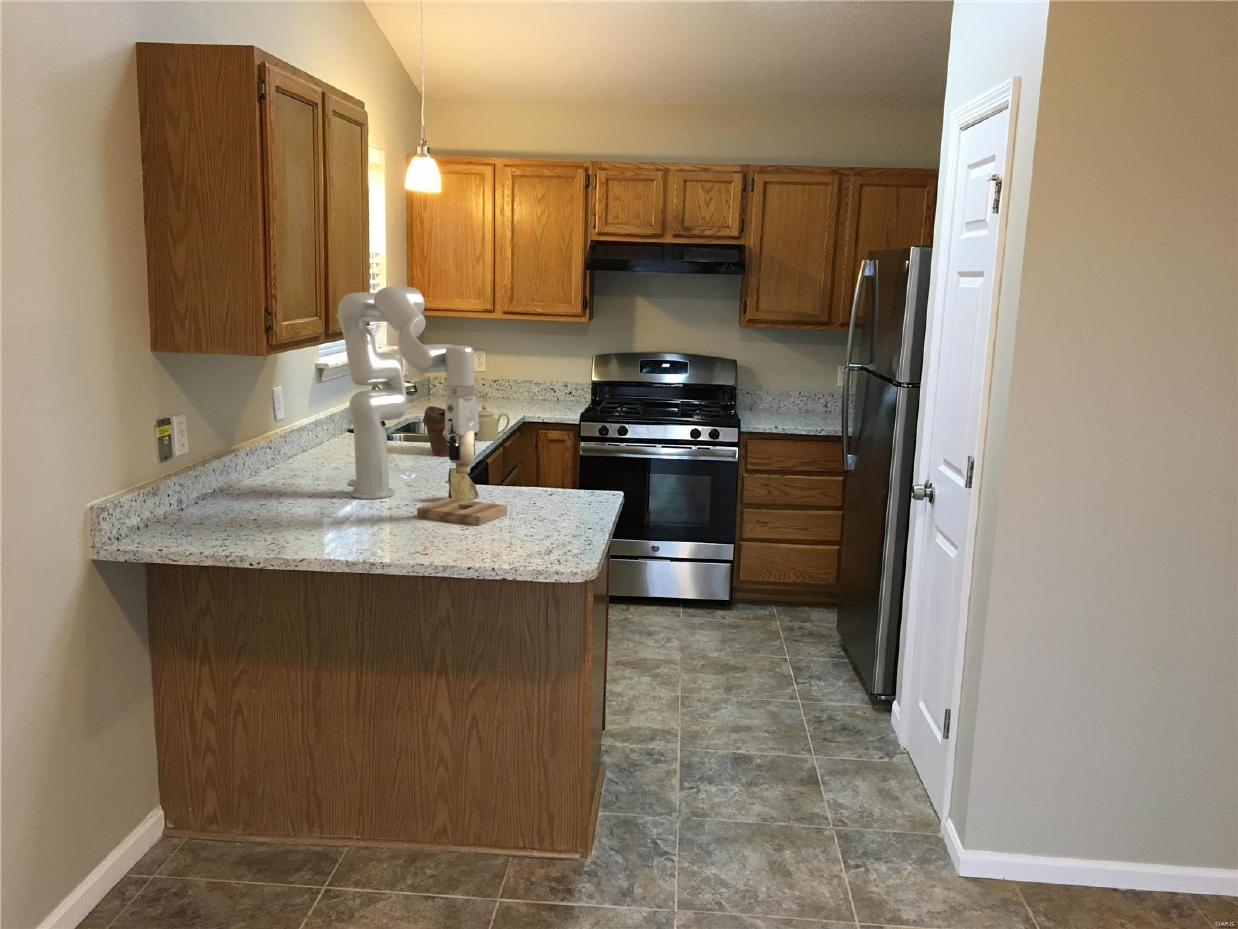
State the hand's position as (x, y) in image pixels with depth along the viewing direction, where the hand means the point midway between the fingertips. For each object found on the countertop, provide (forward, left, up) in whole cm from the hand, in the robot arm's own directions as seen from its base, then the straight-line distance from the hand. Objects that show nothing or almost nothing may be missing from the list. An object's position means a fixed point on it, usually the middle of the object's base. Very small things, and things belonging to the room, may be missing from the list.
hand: (462, 457), depth 254 cm
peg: (0, 0, -4) cm, 4 cm away
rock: (-11, +17, -17) cm, 26 cm away
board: (0, 0, -16) cm, 16 cm away
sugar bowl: (-68, +120, -17) cm, 139 cm away
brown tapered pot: (-61, +82, -17) cm, 103 cm away
